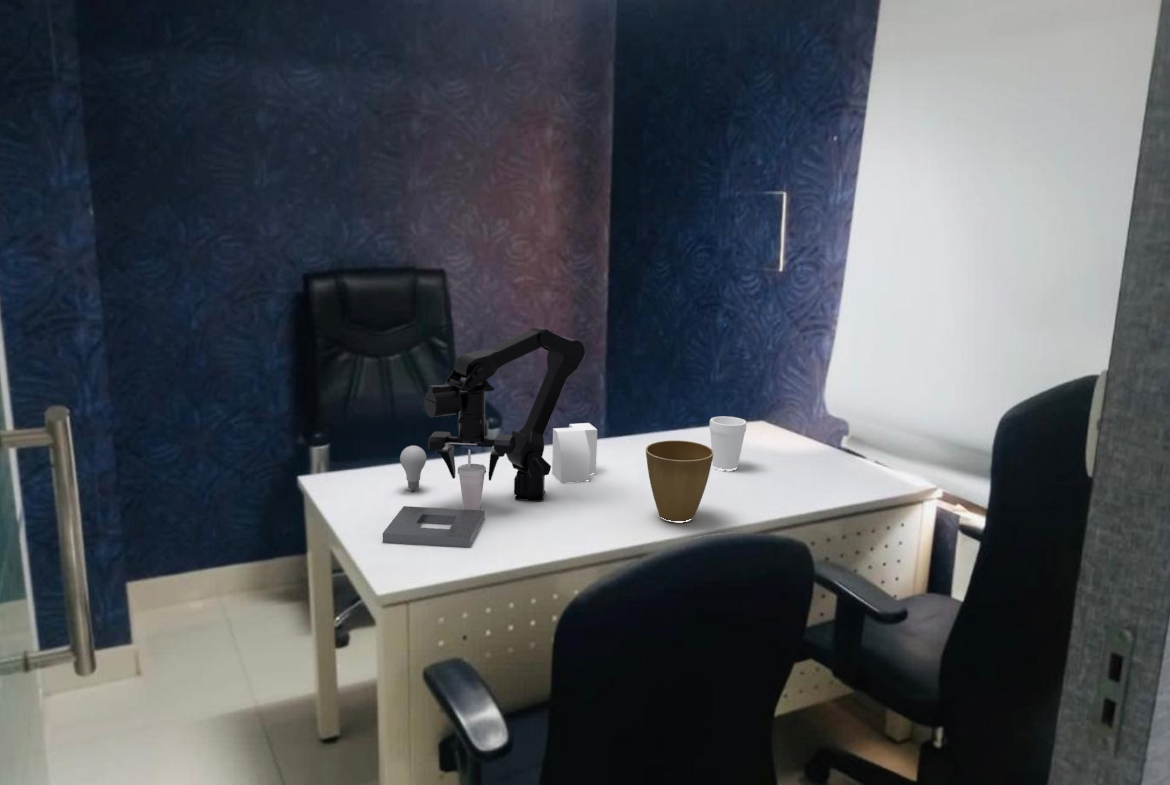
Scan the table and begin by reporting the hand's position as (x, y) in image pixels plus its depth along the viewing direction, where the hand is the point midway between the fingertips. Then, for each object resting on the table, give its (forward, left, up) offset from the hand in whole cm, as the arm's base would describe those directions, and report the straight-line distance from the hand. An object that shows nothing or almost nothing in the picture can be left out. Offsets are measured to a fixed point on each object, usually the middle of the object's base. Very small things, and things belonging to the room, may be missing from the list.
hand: (472, 479), depth 201 cm
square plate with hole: (+5, +14, -7) cm, 16 cm away
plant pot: (-46, -1, -7) cm, 47 cm away
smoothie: (0, 0, -7) cm, 7 cm away
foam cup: (-60, -40, -7) cm, 72 cm away
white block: (-21, -28, -7) cm, 36 cm away
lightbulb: (+16, -10, -7) cm, 20 cm away
